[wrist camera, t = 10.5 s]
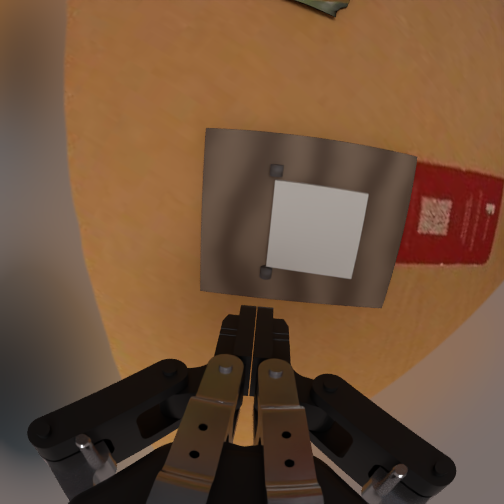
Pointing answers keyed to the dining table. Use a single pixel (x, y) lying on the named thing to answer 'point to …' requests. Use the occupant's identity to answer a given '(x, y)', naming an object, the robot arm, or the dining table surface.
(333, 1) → the prepared meal
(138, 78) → the dining table surface
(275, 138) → the walnut board
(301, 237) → the tile
